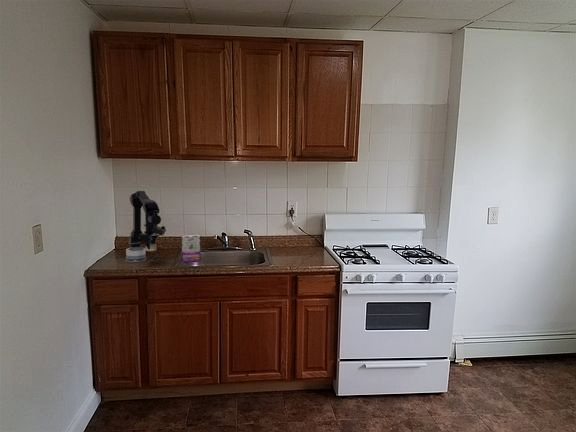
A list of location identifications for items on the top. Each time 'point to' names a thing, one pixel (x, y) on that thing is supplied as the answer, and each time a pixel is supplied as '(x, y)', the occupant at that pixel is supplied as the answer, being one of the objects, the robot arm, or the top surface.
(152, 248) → the lid
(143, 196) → the robot arm
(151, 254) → the top surface
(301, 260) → the top surface
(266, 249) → the top surface
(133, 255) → the canister
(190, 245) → the candy bar box
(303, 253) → the top surface
